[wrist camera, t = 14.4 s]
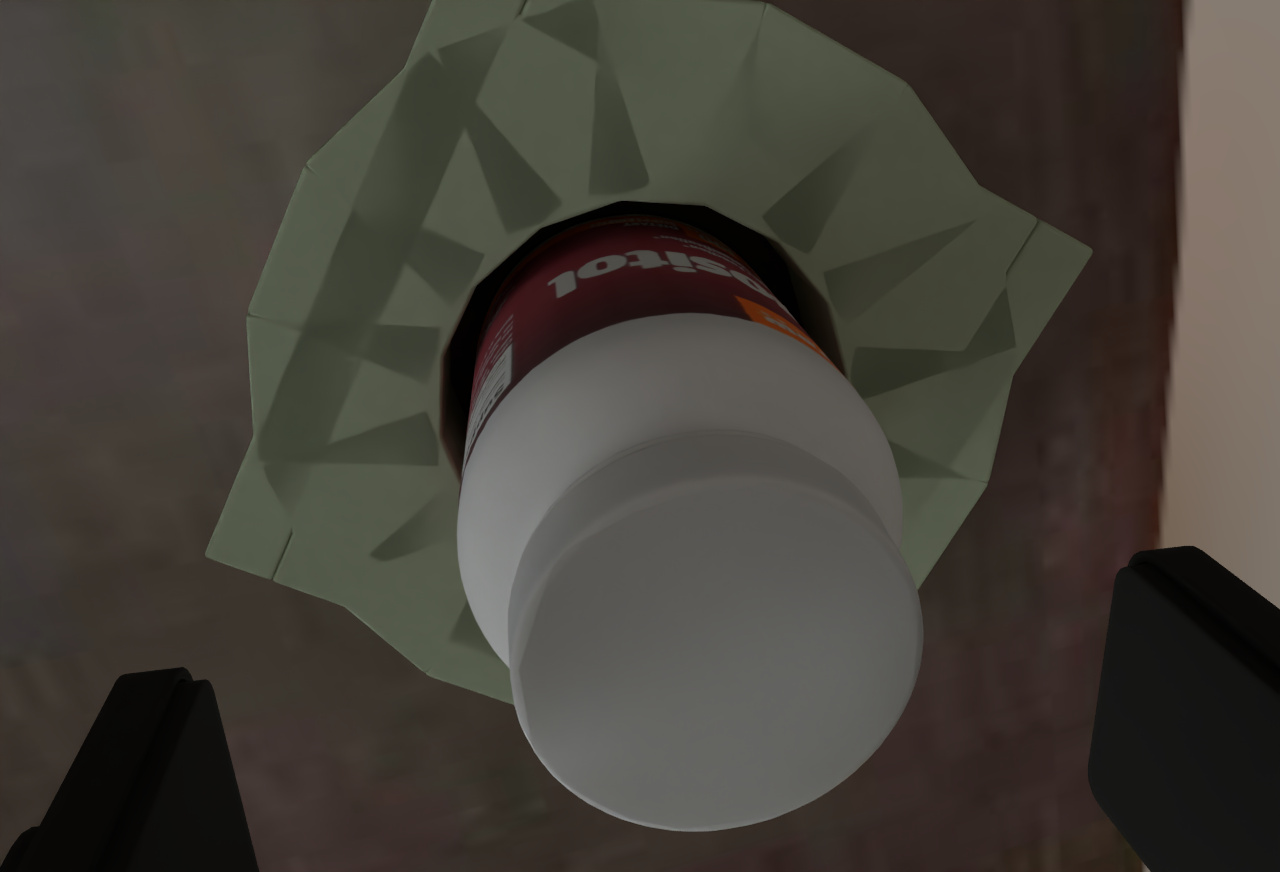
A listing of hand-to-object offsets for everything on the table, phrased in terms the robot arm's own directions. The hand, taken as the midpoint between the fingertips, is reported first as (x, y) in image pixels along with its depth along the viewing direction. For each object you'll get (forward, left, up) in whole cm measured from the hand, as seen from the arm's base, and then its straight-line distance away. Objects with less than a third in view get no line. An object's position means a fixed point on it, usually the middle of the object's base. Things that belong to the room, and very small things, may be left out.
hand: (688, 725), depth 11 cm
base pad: (+1, 0, -12) cm, 12 cm away
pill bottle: (+1, 0, -12) cm, 12 cm away
